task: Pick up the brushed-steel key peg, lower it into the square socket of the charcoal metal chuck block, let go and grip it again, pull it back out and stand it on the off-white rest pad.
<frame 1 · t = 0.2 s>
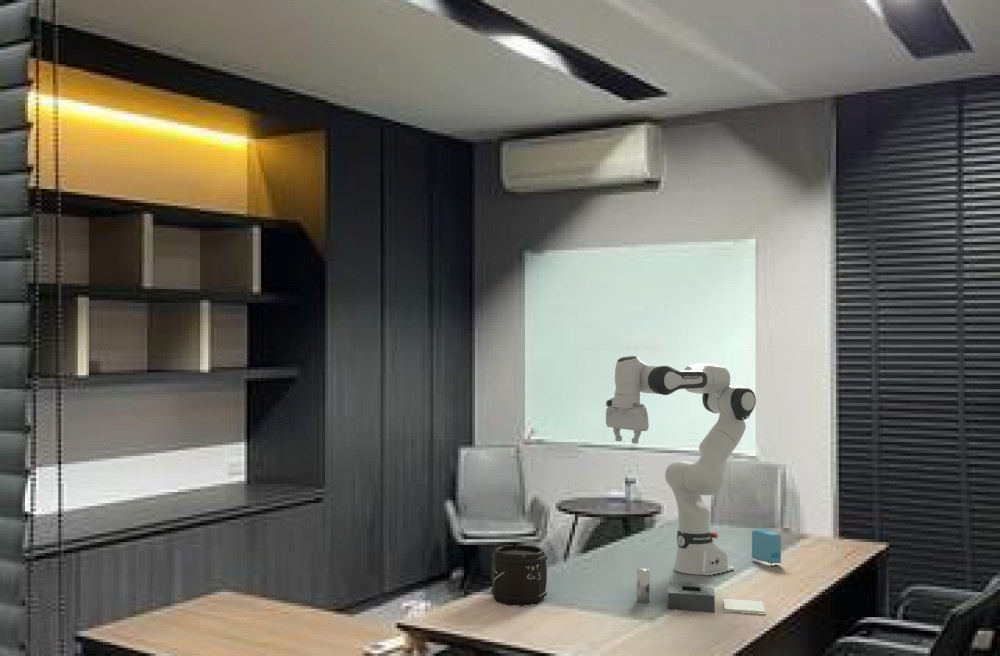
hand: (626, 442, 324), 48 cm above the table, tool pointing down, fingers open, 8 cm apart
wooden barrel: (517, 599, 295), on the table
rest pad: (743, 608, 288), on the table
chuck block: (691, 604, 291), on the table
data package: (766, 564, 352), on the table
key peg: (643, 601, 294), on the table
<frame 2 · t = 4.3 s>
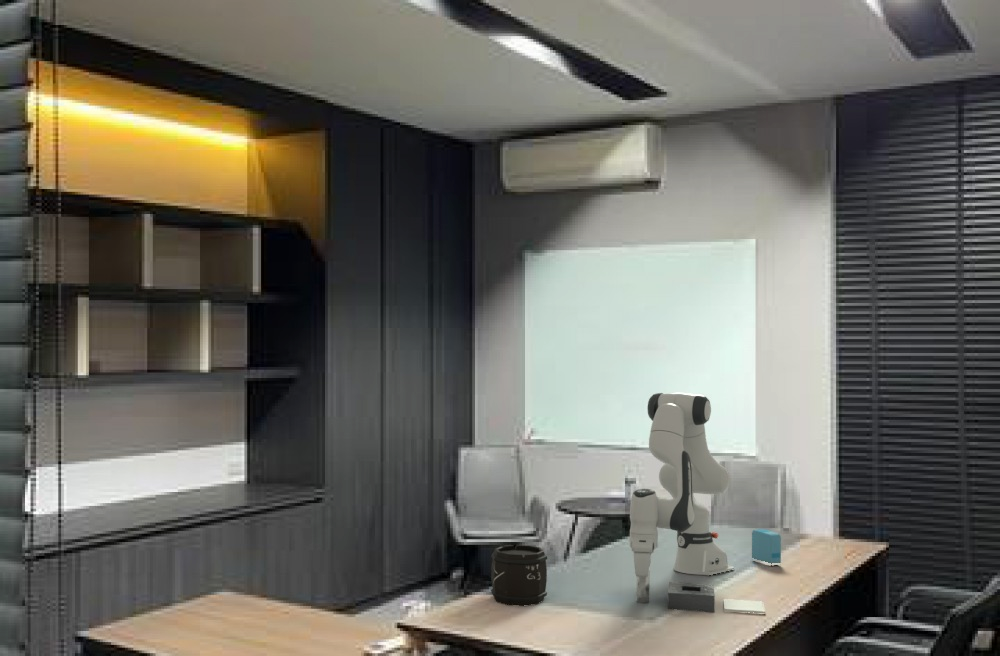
hand: (643, 585, 294), 5 cm above the table, tool pointing down, fingers closed on key peg, 4 cm apart
key peg: (643, 601, 294), on the table, touching gripper
everything else where it was.
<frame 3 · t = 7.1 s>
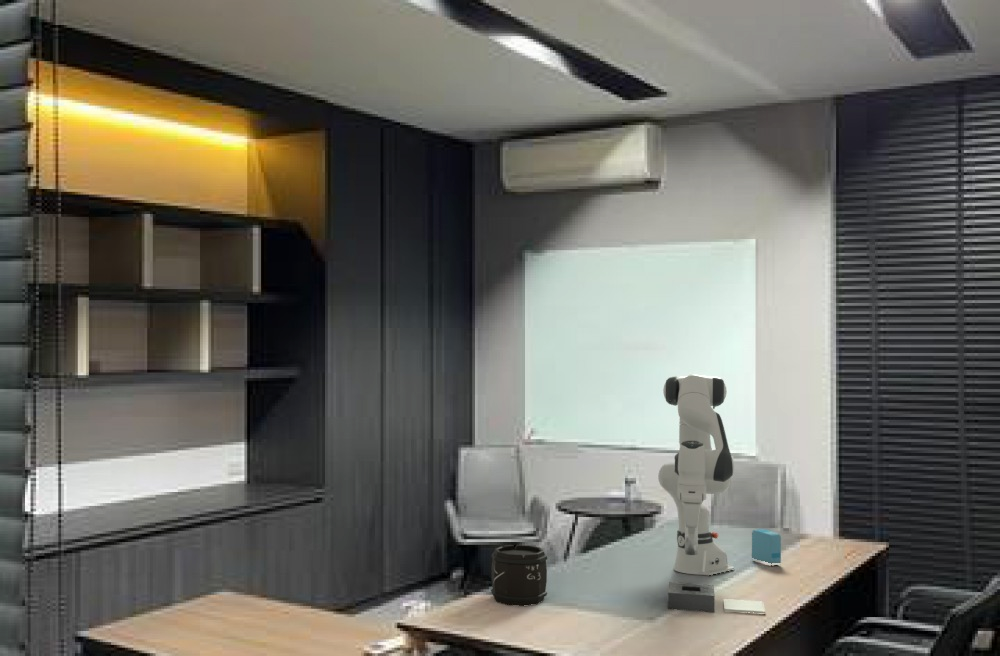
hand: (691, 537, 292), 21 cm above the table, tool pointing down, fingers closed on key peg, 4 cm apart
key peg: (691, 553, 292), point 16 cm above the table, touching gripper
everything else where it was.
when the fingers open (7 cm above the table, at t = 10.0 s): key peg drops 2 cm, resting in chuck block.
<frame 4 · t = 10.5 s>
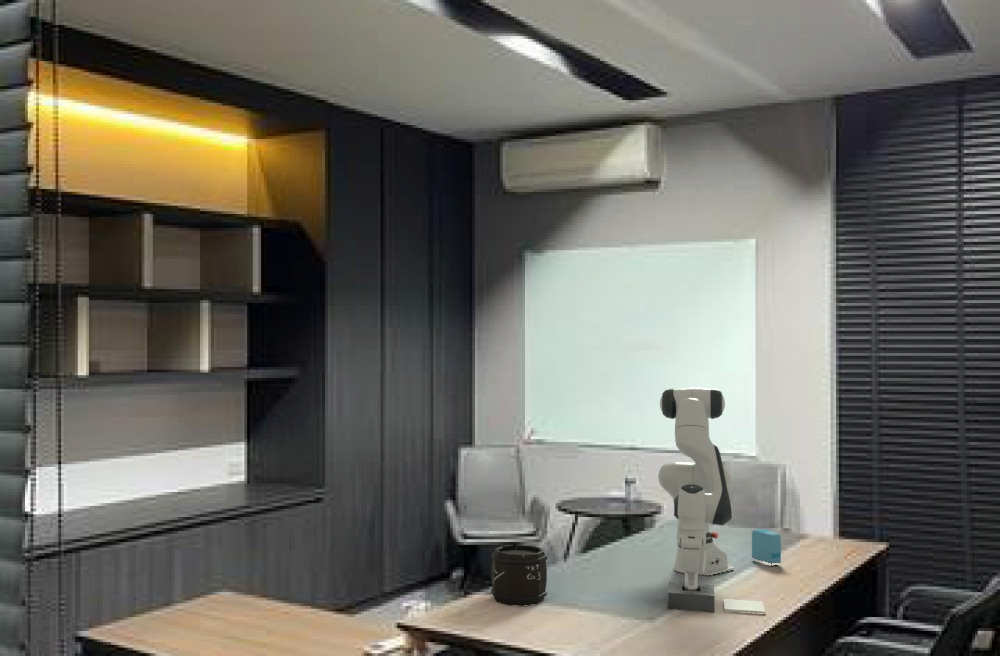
hand: (691, 581, 291), 7 cm above the table, tool pointing down, fingers open, 8 cm apart
key peg: (691, 604, 291), resting in chuck block
everything else where it was.
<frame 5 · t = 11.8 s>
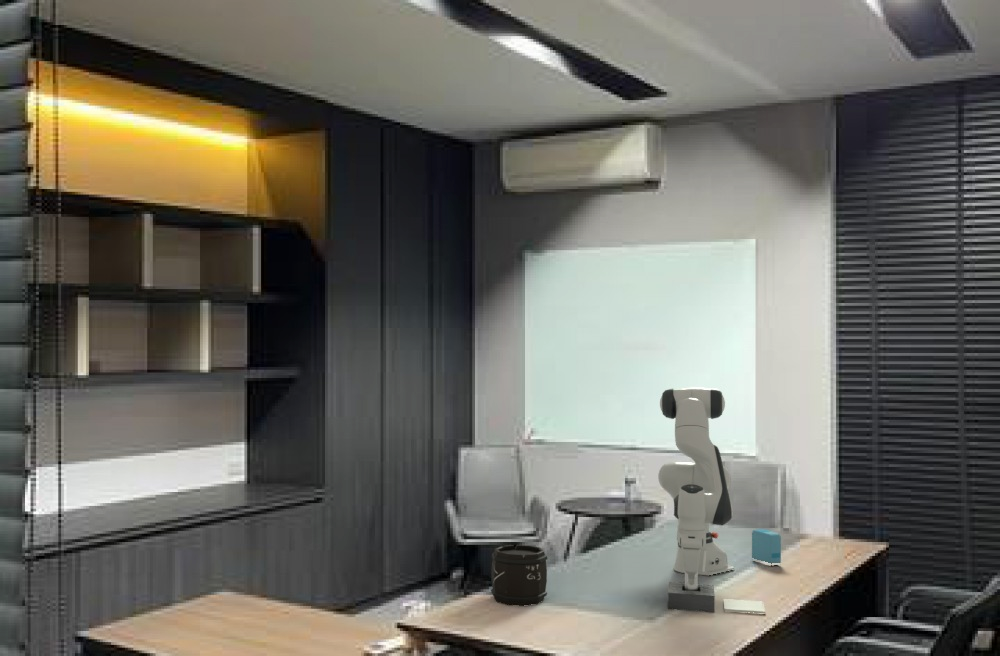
hand: (691, 581, 291), 7 cm above the table, tool pointing down, fingers closed on key peg, 4 cm apart
key peg: (691, 604, 291), resting in chuck block, touching gripper
everything else where it was.
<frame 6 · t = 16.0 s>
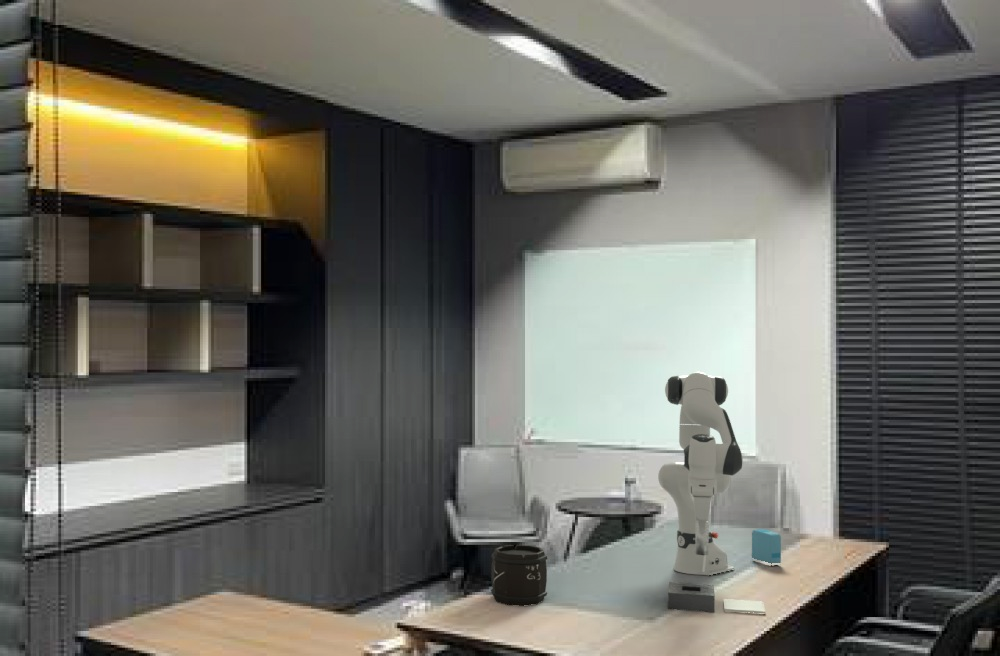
hand: (702, 531, 291), 23 cm above the table, tool pointing down, fingers closed on key peg, 4 cm apart
key peg: (701, 553, 291), point 16 cm above the table, touching gripper
everything else where it was.
when the fingers open (10 cm above the table, at t = 19.7 s): key peg drops 1 cm, resting on rest pad.
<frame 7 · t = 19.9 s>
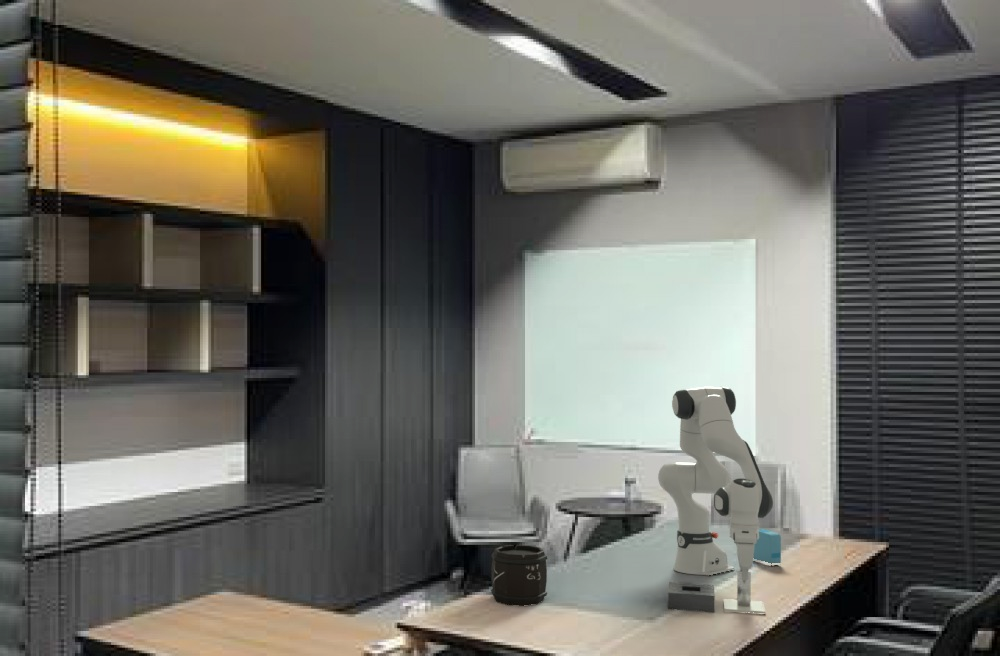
hand: (744, 577, 288), 10 cm above the table, tool pointing down, fingers open, 6 cm apart
key peg: (743, 604, 288), point 1 cm above the table, touching rest pad
everything else where it was.
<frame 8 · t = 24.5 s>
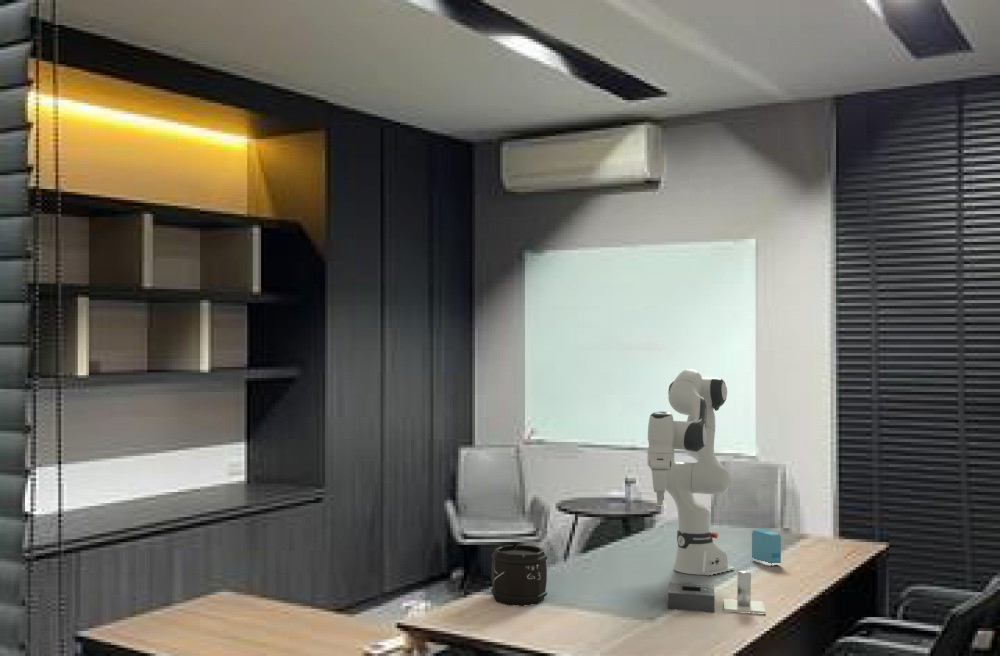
hand: (660, 502, 309), 29 cm above the table, tool pointing down, fingers open, 8 cm apart
nothing on the table moved.
at the end: key peg inside the target area on the rest pad (0.0 cm from its centre), point 1.0 cm above the rest pad's base; key peg tilted 1°; the gripper is holding nothing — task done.
